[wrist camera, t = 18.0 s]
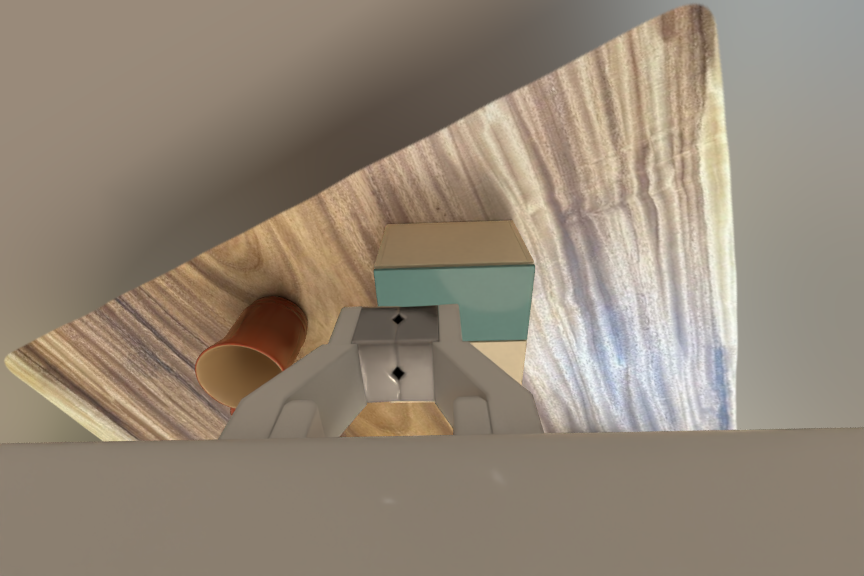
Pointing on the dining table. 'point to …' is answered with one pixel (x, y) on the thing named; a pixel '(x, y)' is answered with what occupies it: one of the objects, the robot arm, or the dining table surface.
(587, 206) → the dining table surface
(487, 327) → the flap
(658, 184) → the dining table surface
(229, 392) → the mug
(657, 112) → the dining table surface
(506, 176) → the dining table surface
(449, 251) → the carton
